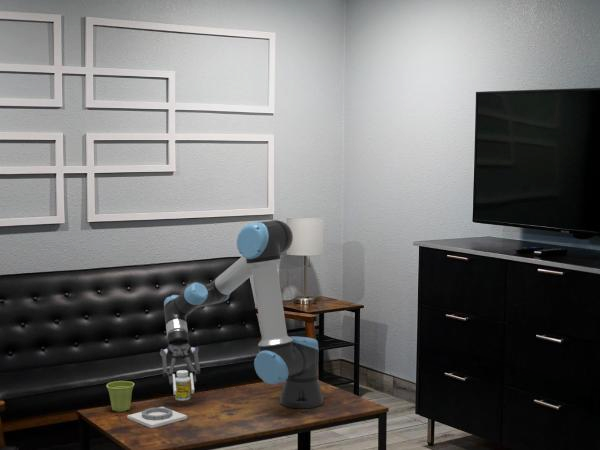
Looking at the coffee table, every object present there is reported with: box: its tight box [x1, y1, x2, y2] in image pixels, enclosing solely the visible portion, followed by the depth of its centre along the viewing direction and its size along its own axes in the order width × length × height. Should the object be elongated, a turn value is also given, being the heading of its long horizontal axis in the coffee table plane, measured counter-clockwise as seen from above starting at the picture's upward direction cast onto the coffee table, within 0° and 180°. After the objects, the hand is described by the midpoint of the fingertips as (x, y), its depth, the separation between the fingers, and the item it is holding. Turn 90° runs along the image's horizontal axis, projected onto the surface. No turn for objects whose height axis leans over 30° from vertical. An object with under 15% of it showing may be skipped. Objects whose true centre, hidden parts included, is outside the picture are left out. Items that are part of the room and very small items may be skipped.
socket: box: [126, 406, 188, 429], centre depth 292 cm, size 14×14×2 cm
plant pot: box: [106, 380, 135, 413], centre depth 302 cm, size 9×9×9 cm
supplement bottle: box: [174, 369, 192, 402], centre depth 306 cm, size 5×5×10 cm
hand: (184, 391), depth 303 cm, fingers closed on supplement bottle, 5 cm apart
